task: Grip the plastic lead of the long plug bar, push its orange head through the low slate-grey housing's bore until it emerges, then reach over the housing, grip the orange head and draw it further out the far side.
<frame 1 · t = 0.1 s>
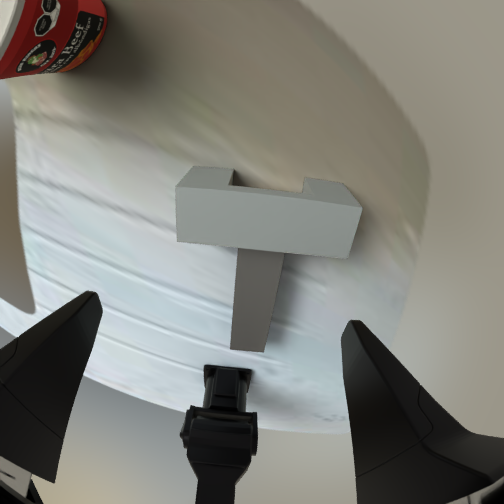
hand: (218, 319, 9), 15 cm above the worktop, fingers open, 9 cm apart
canned food: (75, 32, 13), on the worktop
plug: (255, 275, 26), on the worktop
housing: (266, 196, 22), on the worktop
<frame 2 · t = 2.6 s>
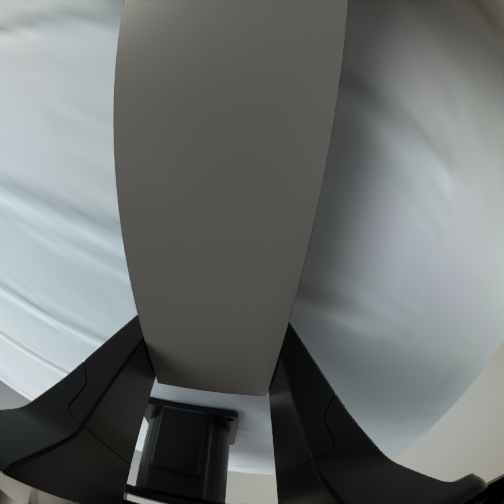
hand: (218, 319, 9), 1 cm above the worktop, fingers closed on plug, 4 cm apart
plug: (234, 104, 6), on the worktop, touching gripper
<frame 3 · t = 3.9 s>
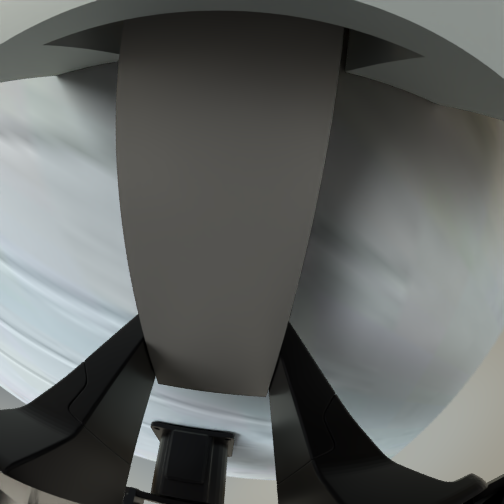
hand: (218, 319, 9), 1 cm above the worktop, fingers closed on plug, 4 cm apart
plug: (234, 106, 6), on the worktop, touching gripper
when the fingers open (1 cm above the worktop, at t = 5.7 s): plug stays where it is, on the worktop.
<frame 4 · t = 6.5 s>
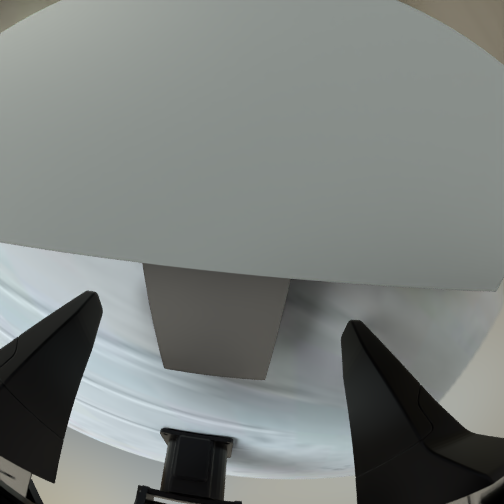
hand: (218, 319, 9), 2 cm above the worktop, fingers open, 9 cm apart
plug: (235, 111, 7), on the worktop
housing: (236, 105, 7), on the worktop
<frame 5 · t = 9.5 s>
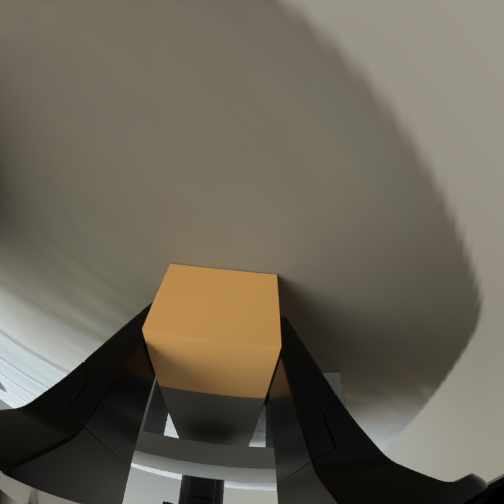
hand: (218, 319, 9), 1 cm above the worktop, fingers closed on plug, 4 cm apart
plug: (218, 387, 13), on the worktop, touching gripper
housing: (218, 386, 13), on the worktop
when the fingers open (1 cm above the worktop, at t = 11.1 s): plug stays where it is, on the worktop.
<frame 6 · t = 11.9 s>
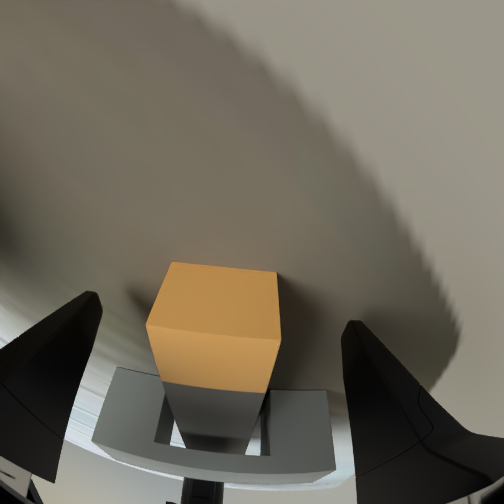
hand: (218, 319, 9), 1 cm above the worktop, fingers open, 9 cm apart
plug: (219, 384, 14), on the worktop
housing: (218, 400, 15), on the worktop
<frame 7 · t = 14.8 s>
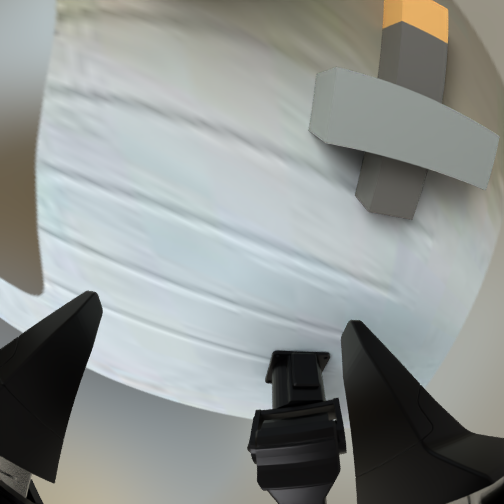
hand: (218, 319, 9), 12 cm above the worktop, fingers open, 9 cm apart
plug: (397, 97, 15), on the worktop
housing: (393, 122, 16), on the worktop
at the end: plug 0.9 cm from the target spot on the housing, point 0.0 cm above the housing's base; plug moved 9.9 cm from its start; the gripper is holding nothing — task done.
